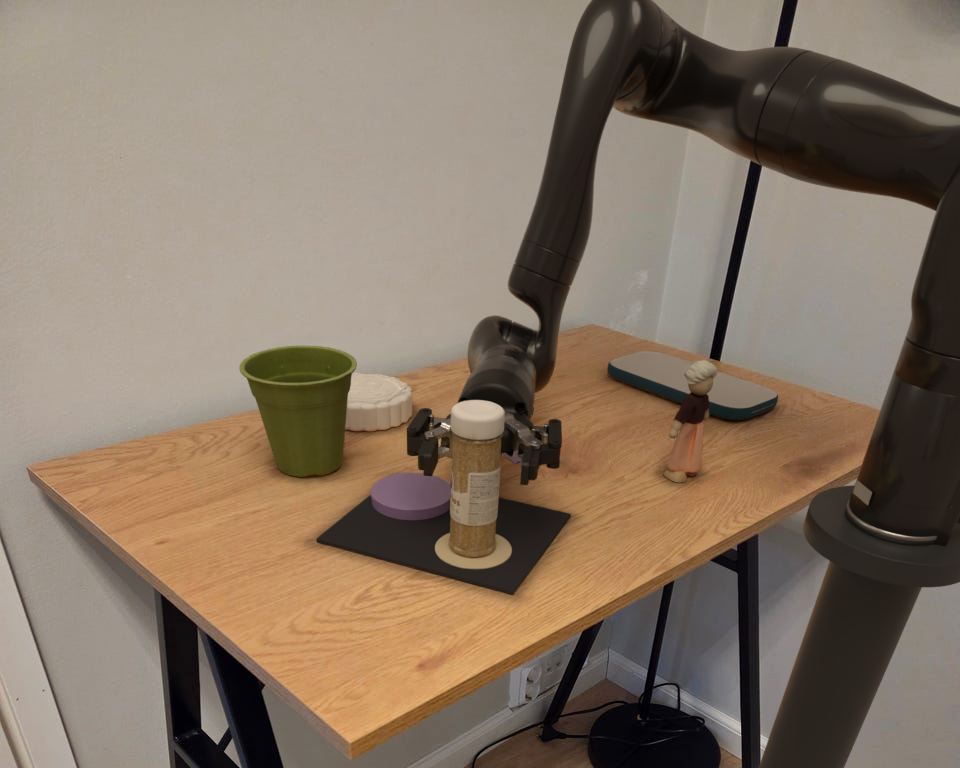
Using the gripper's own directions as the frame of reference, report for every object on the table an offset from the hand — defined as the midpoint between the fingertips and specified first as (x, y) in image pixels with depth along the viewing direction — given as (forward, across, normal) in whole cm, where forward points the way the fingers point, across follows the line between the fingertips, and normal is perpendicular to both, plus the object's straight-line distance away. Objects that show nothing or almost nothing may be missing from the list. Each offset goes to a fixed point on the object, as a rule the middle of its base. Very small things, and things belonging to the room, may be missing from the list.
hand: (475, 470), depth 71 cm
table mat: (-5, -3, +9) cm, 10 cm away
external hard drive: (-50, +24, +9) cm, 56 cm away
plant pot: (-16, -21, +9) cm, 28 cm away
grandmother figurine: (-23, +21, +9) cm, 32 cm away
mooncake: (-32, -18, +9) cm, 38 cm away
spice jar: (-1, 0, +8) cm, 8 cm away
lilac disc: (-9, -8, +8) cm, 14 cm away
